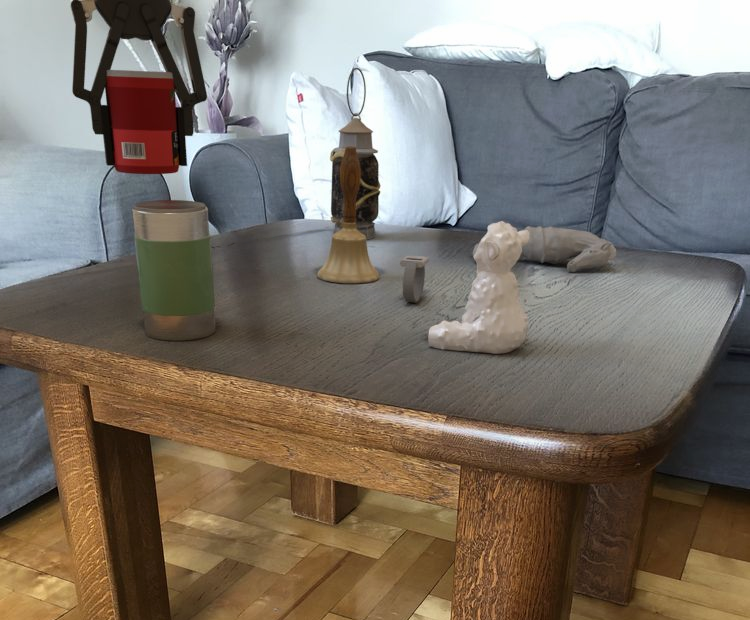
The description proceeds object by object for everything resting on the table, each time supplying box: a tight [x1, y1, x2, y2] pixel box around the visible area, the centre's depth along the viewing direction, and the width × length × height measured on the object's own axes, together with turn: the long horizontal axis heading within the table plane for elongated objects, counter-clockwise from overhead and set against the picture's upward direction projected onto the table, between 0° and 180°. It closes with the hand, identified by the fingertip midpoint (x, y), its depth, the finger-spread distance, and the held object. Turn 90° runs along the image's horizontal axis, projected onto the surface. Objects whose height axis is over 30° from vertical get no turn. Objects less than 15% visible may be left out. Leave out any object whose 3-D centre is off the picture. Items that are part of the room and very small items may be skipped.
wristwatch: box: [399, 255, 430, 304], centre depth 96 cm, size 6×3×5 cm, turn 164°
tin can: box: [132, 199, 216, 342], centre depth 81 cm, size 7×7×12 cm
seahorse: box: [472, 225, 617, 273], centre depth 118 cm, size 5×12×20 cm
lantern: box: [329, 67, 381, 241], centre depth 131 cm, size 9×8×25 cm
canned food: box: [104, 69, 180, 175], centre depth 99 cm, size 8×8×11 cm
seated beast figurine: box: [427, 220, 530, 355], centre depth 79 cm, size 10×9×12 cm
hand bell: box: [316, 146, 381, 285], centre depth 105 cm, size 8×8×16 cm
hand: (146, 164), depth 101 cm, fingers closed on canned food, 8 cm apart
